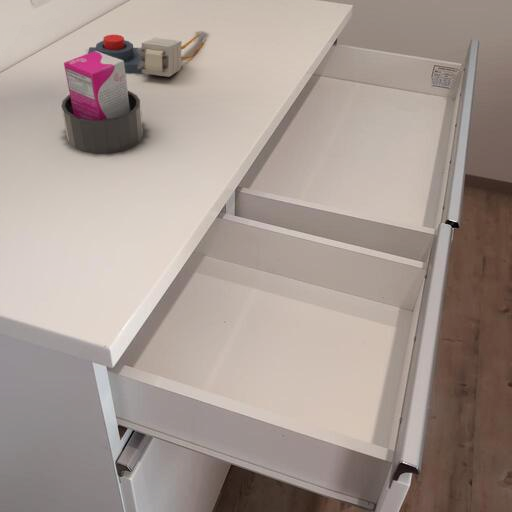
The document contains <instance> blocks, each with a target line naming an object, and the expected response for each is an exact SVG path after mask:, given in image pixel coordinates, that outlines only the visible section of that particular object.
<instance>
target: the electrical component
mask: <svg viewBox="0 0 512 512" xmlns="http://www.w3.org/2000/svg"><path fill="white" fill-rule="evenodd" d="M201 34H202V31H199V32H198V33H197V34H196V35H195V36H194V37H193V38H191V39H190V40H189V41H188V42H186V43H185V44H183V45H182V43H183V42H182V40H178V39H177V40H175V39H168V38H162V37H152V38H151V39H148V40H145V41H142V42H141V47H136V48H137V52H138V54H139V56H140V57H141V58H142V59H141V61H140V63H139V65H138V67H137V68H138V69H142V73H141V74H145V75H154V76H160V77H167V78H169V77H172V76H173V75H175V74H176V73H178V72H179V71H181V70H182V60H187V59H190V58H192V57H193V56H195V54H197V53H198V52H199V51H200V49H201V48H202V47H203V45H204V44H205V41H206V39H207V38H206V37H205V38H204V39H203V40H202V42H201V43H200V44H199V46H198V48H197V49H196V50H194V52H192V53H191V54H189V55H187V56H182V50H183V49H185V48H187V47H188V46H189V45H190V44H191V43H193V42H194V41H195V40H196V39H197V38H199V36H200V35H201ZM141 48H142V49H141Z"/></svg>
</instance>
